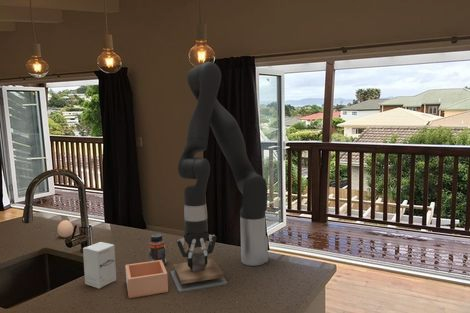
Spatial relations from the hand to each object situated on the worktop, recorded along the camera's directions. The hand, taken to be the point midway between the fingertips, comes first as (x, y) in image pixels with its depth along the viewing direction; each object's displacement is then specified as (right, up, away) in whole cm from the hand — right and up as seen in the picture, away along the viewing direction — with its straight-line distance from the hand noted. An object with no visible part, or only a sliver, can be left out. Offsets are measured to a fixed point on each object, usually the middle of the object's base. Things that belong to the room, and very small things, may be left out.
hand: (197, 266), depth 133 cm
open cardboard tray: (-16, -5, -5) cm, 18 cm away
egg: (-64, 0, +47) cm, 80 cm away
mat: (0, -4, 0) cm, 4 cm away
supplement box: (-32, -5, -1) cm, 33 cm away
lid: (0, -2, 0) cm, 2 cm away
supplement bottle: (-16, -3, +13) cm, 21 cm away
